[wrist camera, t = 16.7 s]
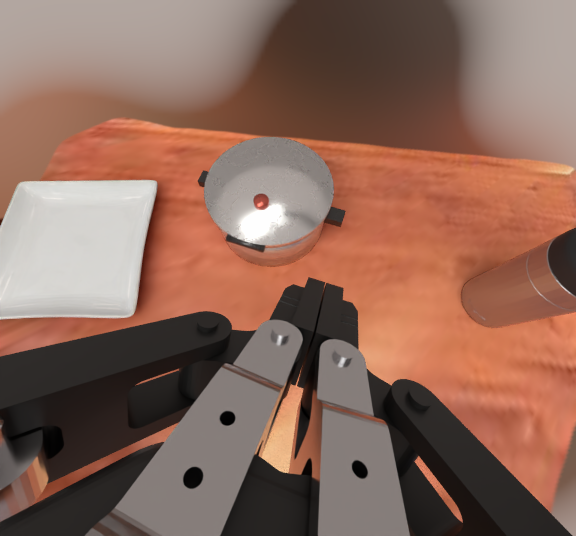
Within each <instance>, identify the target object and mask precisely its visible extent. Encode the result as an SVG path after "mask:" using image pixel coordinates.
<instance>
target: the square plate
mask: <svg viewBox="0 0 576 536" xmlns="http://www.w3.org/2000/svg"><path fill="white" fill-rule="evenodd" d="M157 186H158V185H157V182H156V181H154V180H105V181H28V182H21V183H19V184H18V185H17V188H16V190H15V192H14V195H13V197H12V199H11V202H10V204H9V207H8V210H7V212H6V214H5V216H4V219H3V221H2V224H1V226H0V319H15V318H38V317H85V318H128V317H130V316H132V315H133V314H134V313H135V309H136V305H137V299H138V292H139V282H140V274H141V266H142V259H143V252H144V246H145V241H146V236H147V231H148V227H149V222H150V218H151V214H152V210H153V206H154V201H155V197H156V193H157Z"/></svg>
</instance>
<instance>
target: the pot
mask: <svg viewBox="0 0 576 536" xmlns="http://www.w3.org/2000/svg"><path fill="white" fill-rule="evenodd" d="M208 173H209V172H207V171H204V170H203V172H202V174H201V176H200V178H199V179H198V183H199V185H200V186H202V187H205V181H206V178H207V175H208ZM344 214H345V211H344V210H341V209H337V208H334V207H331V208H330V210H329V213H328V215H327V217H326V219H325V220H324V222H325V223H328V224H332V225H335V226H339V227H341V224H342V221H343V218H344ZM324 222H323V223H324ZM323 223H322V224H321V225H320V227H319V228H318V229H317V230H316V231H315V232H313V233H312V234H311V235H309V236H308V237H307V238H305V239H303V240H301V241H299V242H297V243H294V244H291V245H288V246H284V247H278V248H265V251H264V253H262V252H259V251H256V250H253V249H249V248H246V247H243V246H240V245H236V244H233V243H230V242H227V241H226V242H227V244H228V245H229V247H230V248H231V249H232V250H233V251H234V252H235V253H236V254H237V255H238V256H239V257H241V258H242V259H244V260H246V261H248V262H250V263H253V264H256V265H260V266H267V267H276V266H283V265H287V264H290V263H293V262H295V261H297V260H299V259H301V258H302V257H304V256H305V255H306V254H308V253H309V252H310V251H311V250H312V248H313V247H314V246H315V245H316V243H317V241H318V240H319V237H320V235H321V231H322V227H323ZM221 232H222V234H223V236H224V238H225V240H226V236H227V235H226V234H225V233H224V232H223V231H222V230H221Z"/></svg>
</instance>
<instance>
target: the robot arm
mask: <svg viewBox="0 0 576 536" xmlns="http://www.w3.org/2000/svg"><path fill="white" fill-rule="evenodd" d="M324 285H325V282H322V281H319V280H316V279H313V278H310V277H309V278H308V280H307V283H306V286H305V288H303V287H300V286H297V285H294V284H293V285H291V286H289V287H287V288H285V290H284V292H283V294H282V296H281V298H280V300H279V302H278V304H277V306H276V308H275V310H274V312H273V314H272V316H271V318H270V320H269V321H266V322H264V323H262V324H261V325H260V326H259V328H258V329H257V330H254V331H239V330H232V325H231V323H230V321H229V320H228V319H227V318H226V317H225V316H223V315H221V314H218V313H215V312H207V311H205V312H197V313H193V314H188V315H184V316H179V317H175V318H170V319H166V320H161V321H157V322H153V323H148V324H144V325H139V326H135V327H130V328H126V329H121V330H117V331H112V332H108V333H104V334H99V335H95V336H90V337H86V338H81V339H77V340H72V341H68V342H63V343H59V344H54V345H50V346H46V347H41V348H37V349H32V350H28V351H23V352H19V353H14V354H10V355H5V356H1V357H0V536H572V535H571V534H570V533H569V532H568V531H567V530H566V529H565V528H564V527H563V526H562V525H561V524H560V523H559V522H558V521H557V520H556V519H555V517H554V516H553V515H552V514H551V513H550V512H549V511H548V510H547V509H546V508H545V507H544V506H543V505H542V504H541V503H540V502H539V501H538V500H537V499H536V498H535V497H534V496H533V495H532V494H531V493H530V492H529V491H528V490H527V489H526V488H525V487H524V486H523V485H522V484H521V483H520V482H519V481H518V480H517V479H516V478H515V477H514V476H513V475H512V474H511V473H510V472H509V471H508V470H507V469H506V468H505V467H504V466H503V464H502V463H501V462H500V461H499V460H498V459H497V458H496V457H495V456H494V455H493V454H492V453H491V452H490V451H489V450H488V449H487V448H486V447H485V446H484V445H483V444H482V443H481V442H480V441H479V440H478V439H477V438H476V437H475V436H474V435H473V434H472V433H471V432H470V431H469V430H468V429H467V428H466V427H465V426H464V425H463V424H462V423H461V422H460V421H459V420H458V419H457V418H456V417H455V416H454V415H453V414H452V413H451V412H450V410H449V409H448V408H447V407H446V406H445V405H444V404H443V403H442V402H441V401H440V400H439V399H438V398H437V397H436V396H435V395H434V394H433V393H432V392H431V391H429V390H428V389H427V388H425V387H424V386H422V385H420V384H419V383H416V382H414V381H411V380H407V379H400V380H397V381H395V382H394V383H393V384H392V386H391V385H389V384H388V383H386V382H384V381H383V380H381V379H379V378H378V377H376V376H375V375H373V374H372V373H371V372H370V371H369V370H368V369H367V368H366V362H365V359H364V357H363V355H362V354H361V352H360V351H359V350H358V311H357V310H356V308H355V306H354V305H353V303H350V302H347V301H344V300H343V288H341V287H338V286H335V285H332V284H329V283H326V285H325V288H324ZM323 290H324V291H323ZM461 298H462V303H463V306H464V308H465V310H466V312H467V313H468V314H469V315H470V317H471V318H472V319H474V320H475V321H476V322H478V323H479V324H481V325H483V326H486V327H491V328H500V327H504V326H509V325H514V324H520V323H525V322H530V321H535V320H539V319H544V318H549V317H554V316H559V315H564V314H569V313H574V312H576V228H574V229H571V230H569V231H567V232H565V233H563V234H561V235H559V236H557V237H555V238H553V239H551V240H549V241H547V242H545V243H543V244H541V245H539V246H537V247H535V248H533V249H531V250H529V251H527V252H525V253H523V254H521V255H519V256H517V257H515V258H513V259H511V260H509V261H507V262H505V263H503V264H501V265H499V266H497V267H495V268H493V269H491V270H489V271H487V272H485V273H483V274H481V275H479V276H477V277H475V278H473V279H471V280H469V281H468V282H467V283H466V284H465V285H464V287H463V289H462V295H461ZM301 368H302V369H301ZM176 369H179V371H176V372H173V373H170V374H167V375H165V376H162V377H159V378H156V379H153V380H150V381H147V382H145V383H142V384H139V385H136V384H138V383H139V382H141V381H144V380H147V379H150V378H153V377H155V376H158V375H161V374H164V373H167V372H170V371H173V370H176ZM300 370H301V373H300ZM299 373H300V377H299V381H298V385H297V386H298V387H301V388H304V390H303V395H302V398H301V401H300V403H299V406H298V410H297V417H296V424H295V432H294V439H293V447H292V454H291V461H290V468H289V473H283V472H280V471H278V470H277V469H275V468H274V467H273V466H271V465H270V464H269V463H267V462H266V461H265V460H263V459H262V458H261V456H262V454H263V451H264V449H265V446H266V444H267V441H268V438H269V436H270V433H271V431H272V428H273V426H274V423H275V420H276V418H277V415H278V413H279V410H280V408H281V405H282V402H283V399H284V398H285V397H286V396H287V393H288V391H289V388H290V385H291V384H292V385H296V382H297V379H298V376H299ZM135 385H136V386H135ZM178 422H179V424H178V425H177V426H176V428H175V429H174V430H173V432H172V433H171V434H170V436H169V437H168V438H167V440H166V441H165V442H161V443H157V444H154V445H150V446H148V447H145V448H143V449H140V450H138V451H136V452H134V453H132V454H130V455H128V456H126V457H124V458H122V459H120V460H118V461H116V462H114V463H112V464H110V465H109V466H107V467H105V468H103V469H101V470H99V471H97V472H95V473H93V474H91V475H89V476H87V477H86V478H84V479H82V480H80V481H78V482H76V483H74V484H72V485H70V486H68V487H66V488H64V489H63V490H61V491H59V492H57V493H55V494H53V495H51V496H49V497H47V498H45V499H43V500H41V501H40V502H38V503H36V504H34V505H32V504H33V503H34V502H35V501H36V500H37V498H38V497H39V496H40V494H41V493H42V491H43V490H44V488H45V486H46V484H48V483H50V482H52V481H54V480H56V479H59V478H61V477H63V476H65V475H67V474H69V473H71V472H73V471H76V470H78V469H80V468H82V467H84V466H86V465H88V464H91V463H93V462H95V461H97V460H99V459H101V458H103V457H105V456H108V455H110V454H112V453H114V452H116V451H118V450H120V449H123V448H125V447H127V446H129V445H131V444H133V443H135V442H137V441H140V440H142V439H144V438H146V437H148V436H150V435H152V434H155V433H157V432H159V431H161V430H163V429H165V428H167V427H169V426H172V425H174V424H176V423H178ZM418 456H420V458H421V459H422V460H423V462H424V463H425V464H426V466H427V467H428V468H429V469H430V471H431V472H432V473H433V475H434V476H435V477H436V478H437V480H438V481H439V482H440V484H441V485H442V486H443V488H444V489H445V490H446V491H447V493H448V494H449V495H450V497H451V498H452V499H453V501H454V502H455V503H456V505H457V507H458V508H459V510H460V513H461V515H462V519H463V523H462V522H461V521H459V520H458V519H457V518H456V517H455V516H454V514H453V513H452V512H451V510H450V509H449V508H448V506H447V505H446V504H445V502H444V501H443V500H442V498H441V497H440V496H439V494H438V493H437V492H436V490H435V489H434V488H433V486H432V485H431V484H430V482H429V481H428V480H427V478H426V477H425V475H424V474H423V473H422V471H421V470H420V469H419V467H418V466H417V465H416V463H415V462H414V461H415V460H416V459H417V457H418ZM31 505H32V506H31Z"/></svg>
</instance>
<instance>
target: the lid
mask: <svg viewBox="0 0 576 536" xmlns="http://www.w3.org/2000/svg"><path fill="white" fill-rule="evenodd" d="M333 194H334V185H333V179H332V176H331V173H330V171H329V169H328V167H327V165H326V163H325V162H324V161H323V160H322V158H321V157H320V156H319V155H318V154H317V153H315V152H314V151H313V150H311V149H310V148H308V147H307V146H305V145H303V144H301V143H299V142H296V141H293V140H290V139H285V138H279V137H262V138H255V139H251V140H247V141H244V142H242V143H239V144H237V145H235V146H233V147H232V148H230V149H228V150H227V151H226V152H224V153H223V154H222V155H221V156H220V157H219V158H218V159H217V160H216V161H215V163H214V164H213V165H212V167H211V169H210V170H209V173H208V175H207V178H206V181H205V187H204V198H205V203H206V206H207V209H208V211H209V214H210V216H211V217H212V219H213V221H214V222H215V224H216V225H217V226H218V228H219V229H220V230H222V231H223V232H224V233H225V234H226V235H227V236H226V241H227V242H230V243H233V244H236V245H240V246H243V247H246V248H249V249H253V250H256V251H259V252H262V253H264V251H265V248H278V247H284V246H288V245H291V244H294V243H297V242H299V241H301V240H303V239H305V238H307V237H308V236H309V235H311V234H312V233H313V232H315V231H316V230H317V229H318V228H319V227H320V225H321V224H322V223H323V222H324V220H325V219H326V217H327V215H328V213H329V210H330V208H331V204H332V200H333Z"/></svg>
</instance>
